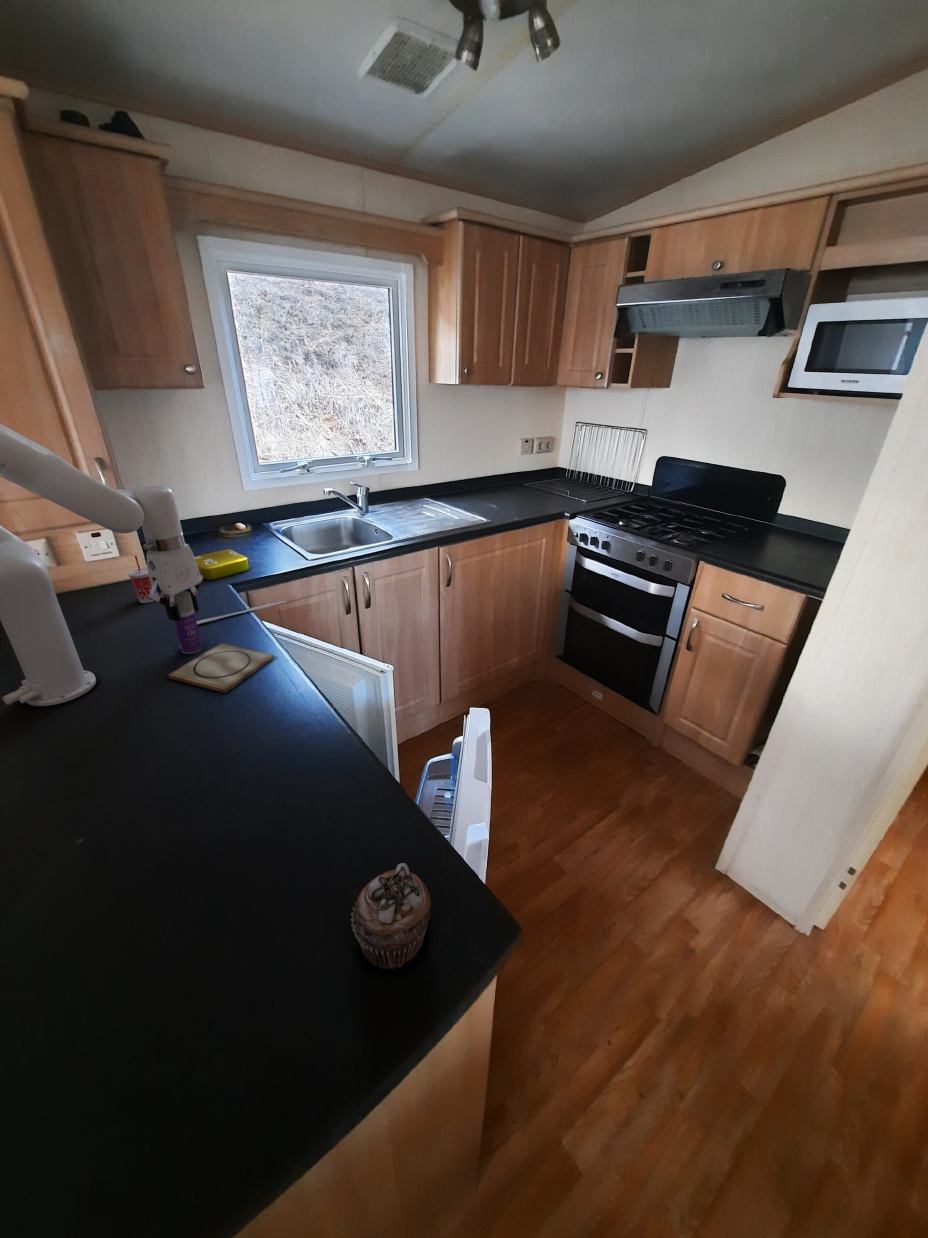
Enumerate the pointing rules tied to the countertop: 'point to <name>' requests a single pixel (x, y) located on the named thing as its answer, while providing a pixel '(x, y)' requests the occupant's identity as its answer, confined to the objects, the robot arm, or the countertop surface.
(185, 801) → the countertop surface
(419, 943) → the cupcake
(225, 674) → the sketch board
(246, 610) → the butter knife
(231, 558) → the yellow flat square block
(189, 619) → the container
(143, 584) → the beverage cup
